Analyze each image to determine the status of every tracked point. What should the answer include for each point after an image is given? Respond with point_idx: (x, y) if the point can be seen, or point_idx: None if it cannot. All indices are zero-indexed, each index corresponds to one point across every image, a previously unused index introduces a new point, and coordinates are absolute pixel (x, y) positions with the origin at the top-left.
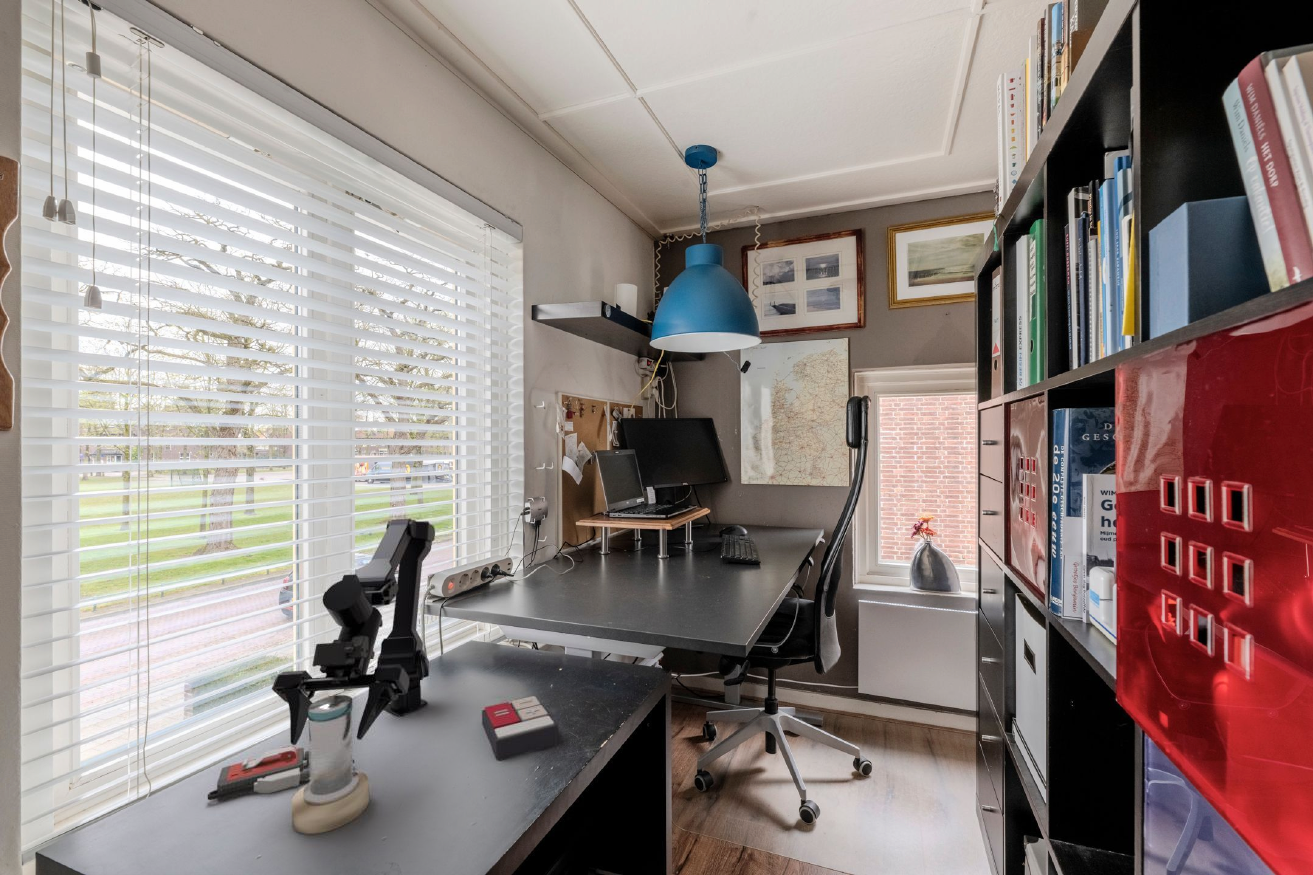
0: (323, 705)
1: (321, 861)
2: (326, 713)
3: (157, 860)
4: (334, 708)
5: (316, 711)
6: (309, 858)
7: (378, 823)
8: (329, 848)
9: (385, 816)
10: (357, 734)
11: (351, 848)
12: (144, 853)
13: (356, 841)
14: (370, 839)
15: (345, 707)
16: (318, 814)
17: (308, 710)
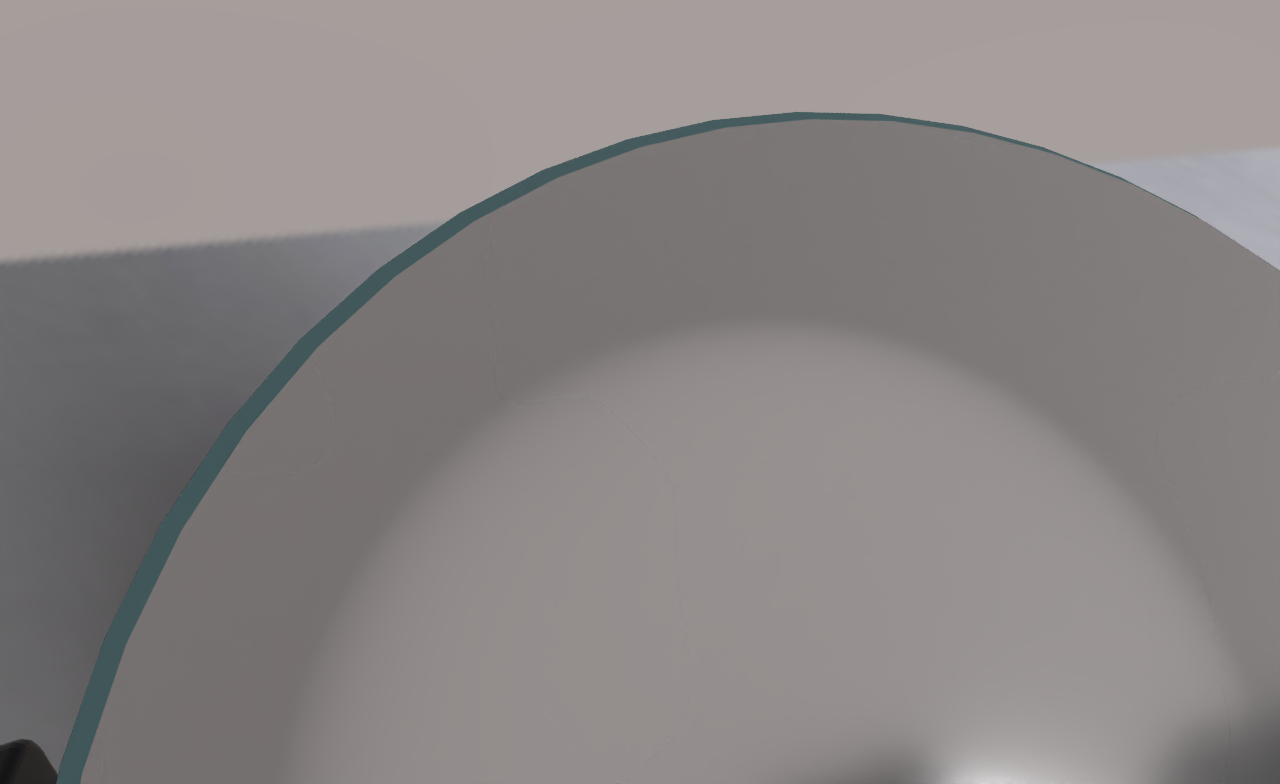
0: (1089, 620)
1: (238, 263)
2: (518, 193)
3: (1150, 183)
4: (425, 467)
5: (909, 164)
6: (338, 276)
7: (51, 650)
8: (268, 365)
9: (38, 740)
10: (4, 768)
11: (104, 384)
12: (1264, 216)
13: (111, 448)
14: (10, 481)
15: (64, 768)
16: None
17: (1252, 259)
